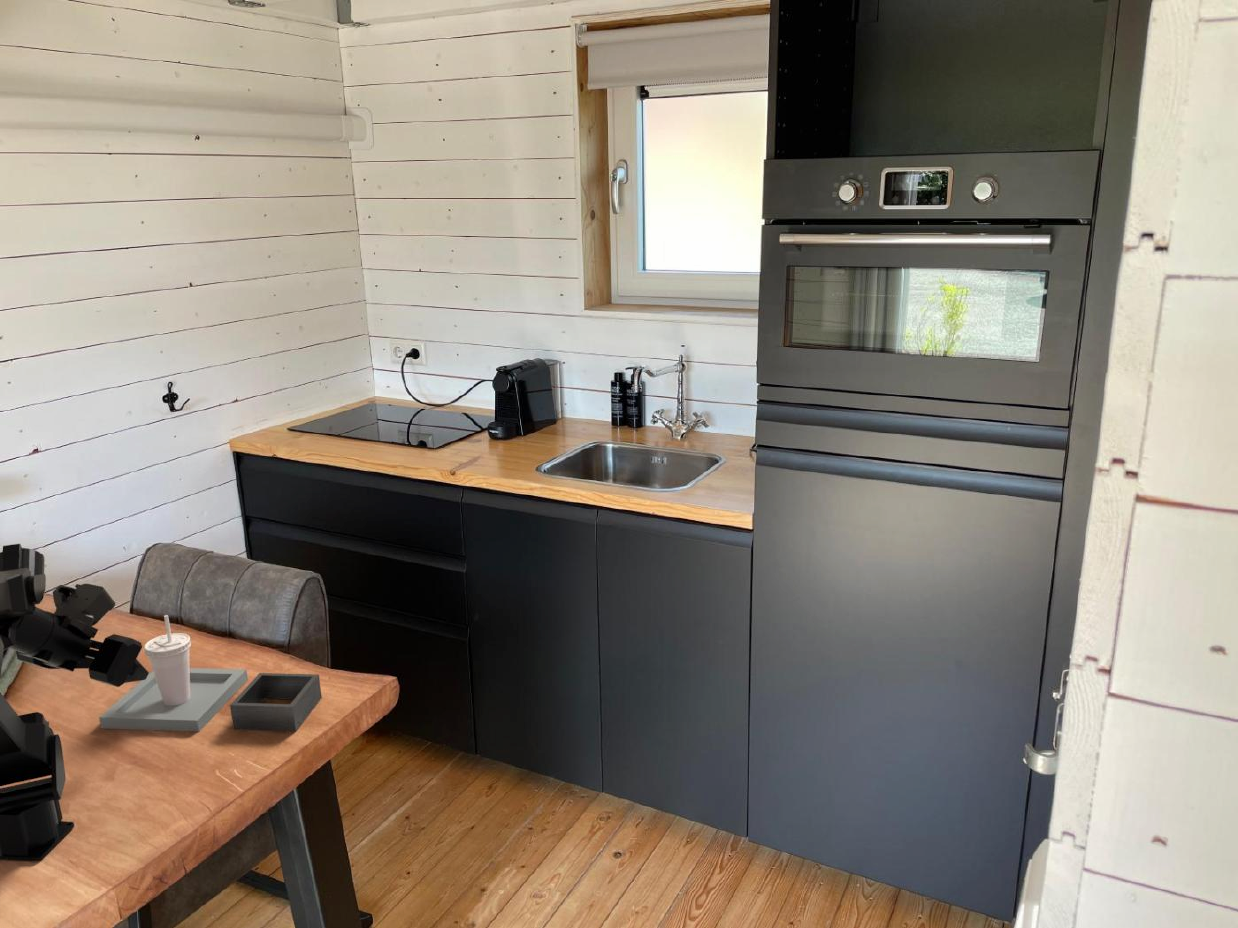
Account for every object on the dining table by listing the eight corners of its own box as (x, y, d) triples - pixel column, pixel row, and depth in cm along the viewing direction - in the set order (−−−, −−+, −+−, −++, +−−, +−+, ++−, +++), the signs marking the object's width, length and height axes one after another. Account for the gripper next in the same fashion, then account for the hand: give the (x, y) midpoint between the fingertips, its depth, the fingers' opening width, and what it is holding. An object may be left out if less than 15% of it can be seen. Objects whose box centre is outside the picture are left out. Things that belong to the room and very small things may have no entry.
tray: (199, 731, 134) (197, 720, 134) (101, 728, 136) (98, 717, 135) (247, 679, 149) (246, 669, 148) (158, 677, 150) (157, 667, 150)
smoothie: (182, 712, 138) (167, 626, 134) (144, 708, 140) (128, 623, 136) (208, 690, 144) (195, 607, 140) (171, 687, 146) (157, 605, 142)
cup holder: (296, 731, 134) (292, 706, 133) (233, 729, 135) (229, 705, 134) (321, 697, 143) (318, 674, 142) (263, 695, 144) (259, 672, 143)
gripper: (117, 585, 120) (197, 627, 132) (20, 565, 127) (105, 607, 139) (72, 668, 115) (160, 703, 128) (-26, 642, 122) (66, 679, 135)
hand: (123, 670), depth 132 cm, fingers open, 9 cm apart
